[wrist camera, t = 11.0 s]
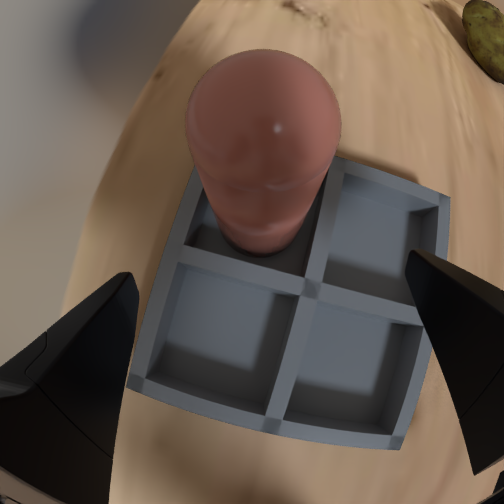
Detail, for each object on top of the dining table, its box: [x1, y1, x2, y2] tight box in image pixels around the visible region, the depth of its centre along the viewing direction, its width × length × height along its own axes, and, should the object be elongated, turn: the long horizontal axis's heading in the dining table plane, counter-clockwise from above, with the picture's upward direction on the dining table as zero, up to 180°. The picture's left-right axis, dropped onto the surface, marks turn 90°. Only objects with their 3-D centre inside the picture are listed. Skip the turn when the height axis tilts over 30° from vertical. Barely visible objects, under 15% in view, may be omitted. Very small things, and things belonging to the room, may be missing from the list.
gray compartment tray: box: [126, 156, 450, 450], centre depth 18 cm, size 17×17×3 cm
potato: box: [462, 0, 504, 84], centre depth 22 cm, size 8×13×8 cm, turn 164°
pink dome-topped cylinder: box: [185, 49, 342, 258], centre depth 14 cm, size 5×5×13 cm
